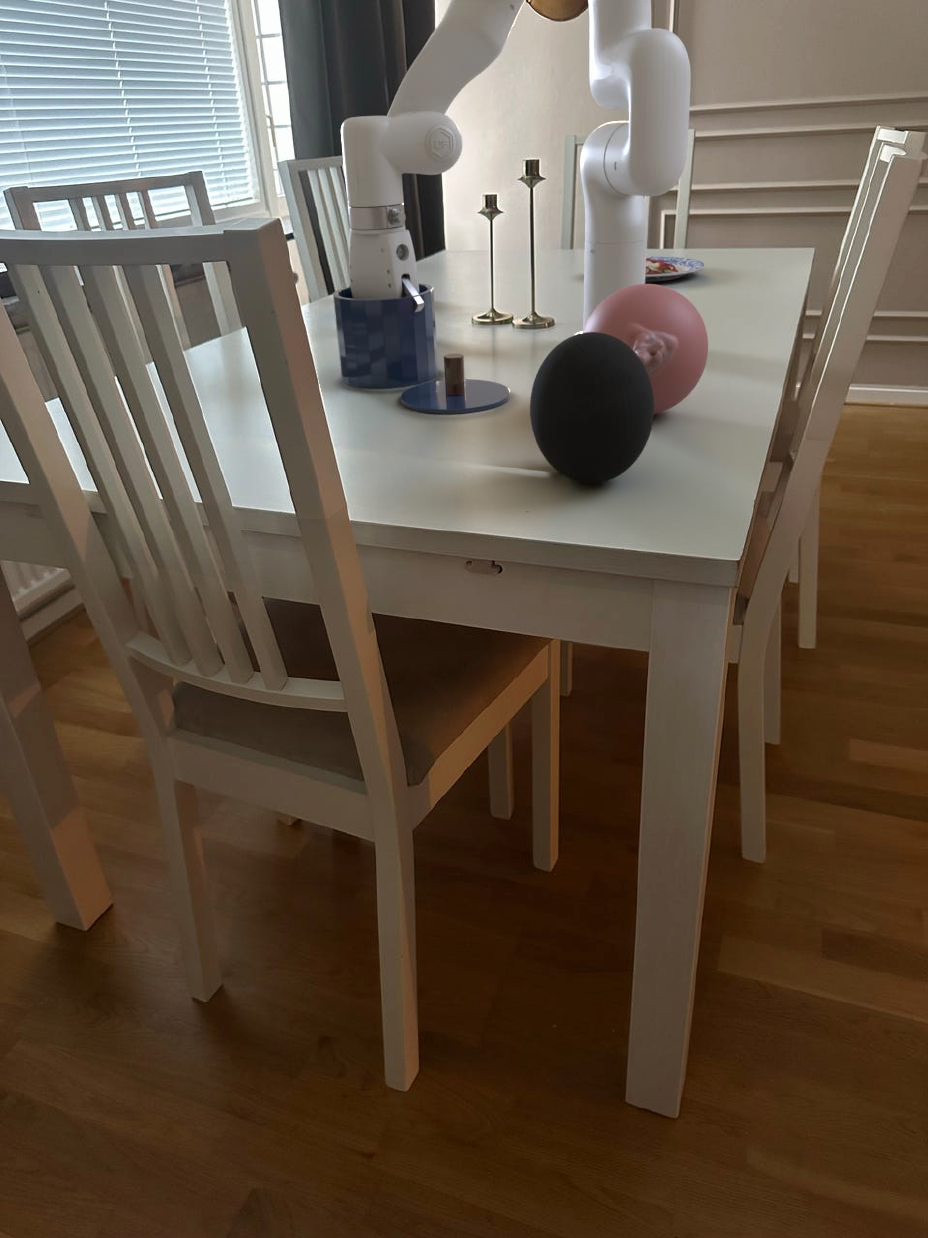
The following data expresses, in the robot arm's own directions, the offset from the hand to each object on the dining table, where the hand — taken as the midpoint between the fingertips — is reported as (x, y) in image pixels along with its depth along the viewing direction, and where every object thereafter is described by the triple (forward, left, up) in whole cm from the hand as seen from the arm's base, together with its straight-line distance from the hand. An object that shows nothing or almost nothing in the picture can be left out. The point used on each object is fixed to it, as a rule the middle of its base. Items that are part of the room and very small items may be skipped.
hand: (388, 352), depth 134 cm
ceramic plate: (-12, -93, -4) cm, 94 cm away
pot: (0, 0, -4) cm, 4 cm away
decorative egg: (-40, +30, -4) cm, 51 cm away
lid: (-14, +8, -3) cm, 17 cm away
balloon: (-39, +8, -4) cm, 41 cm away
